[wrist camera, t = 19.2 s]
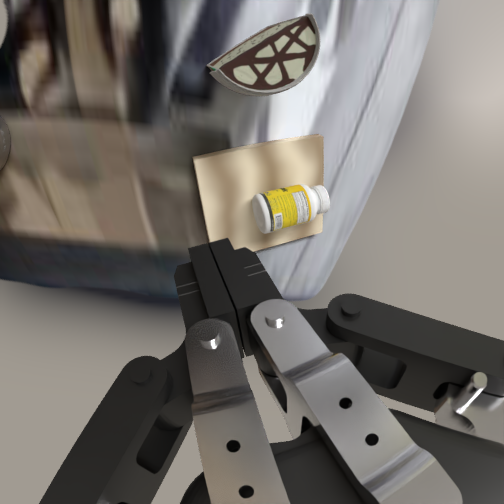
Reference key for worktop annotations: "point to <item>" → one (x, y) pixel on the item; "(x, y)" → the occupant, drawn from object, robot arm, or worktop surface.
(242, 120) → the worktop surface
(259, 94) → the food container
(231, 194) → the birch board
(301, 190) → the supplement bottle
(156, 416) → the robot arm
